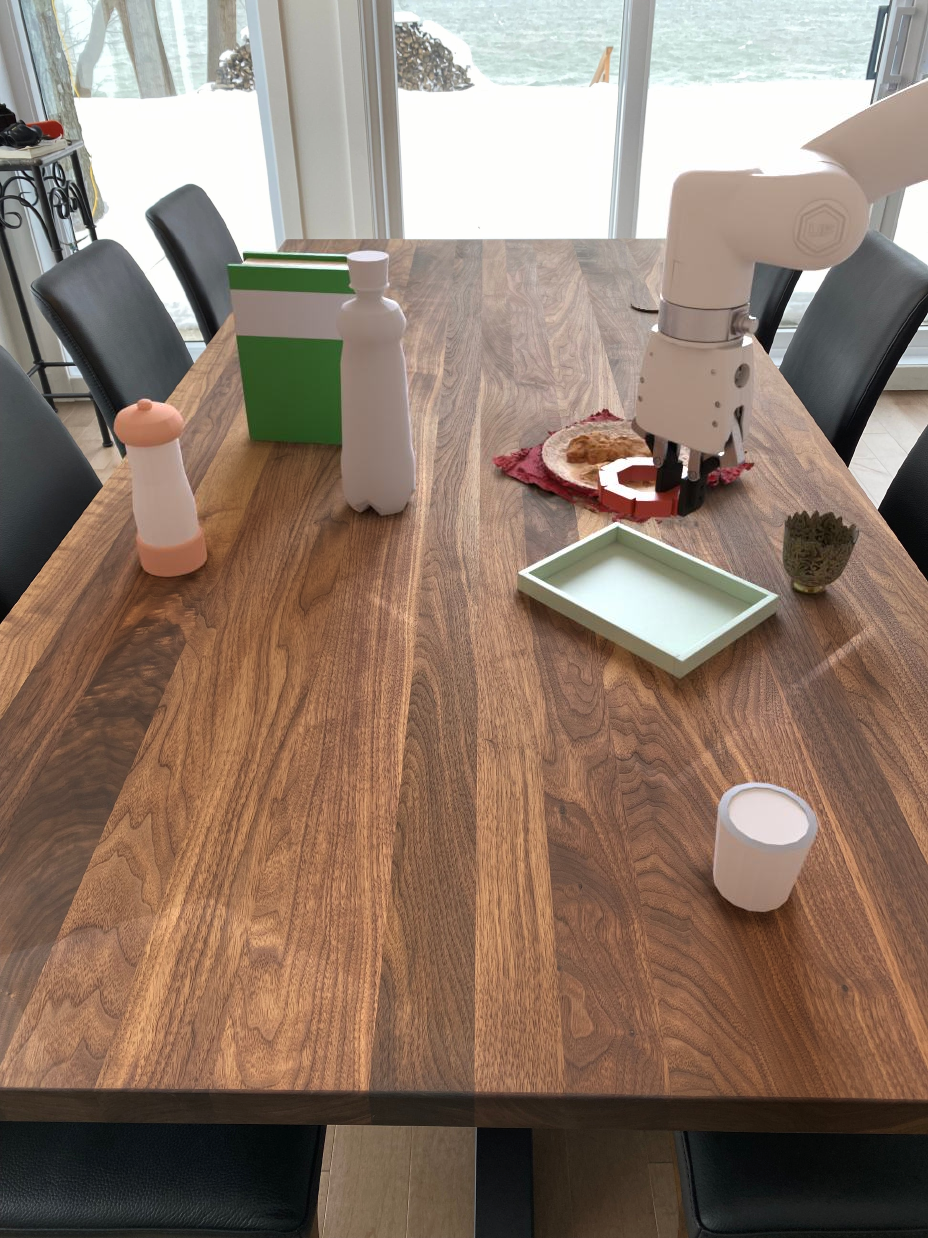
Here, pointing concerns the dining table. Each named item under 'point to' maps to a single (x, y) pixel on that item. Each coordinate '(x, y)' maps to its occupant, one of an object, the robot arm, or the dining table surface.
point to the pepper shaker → (160, 490)
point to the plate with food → (591, 460)
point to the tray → (648, 597)
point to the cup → (816, 550)
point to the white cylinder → (761, 844)
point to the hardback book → (290, 343)
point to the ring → (629, 499)
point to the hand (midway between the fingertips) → (677, 505)
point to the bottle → (374, 392)
